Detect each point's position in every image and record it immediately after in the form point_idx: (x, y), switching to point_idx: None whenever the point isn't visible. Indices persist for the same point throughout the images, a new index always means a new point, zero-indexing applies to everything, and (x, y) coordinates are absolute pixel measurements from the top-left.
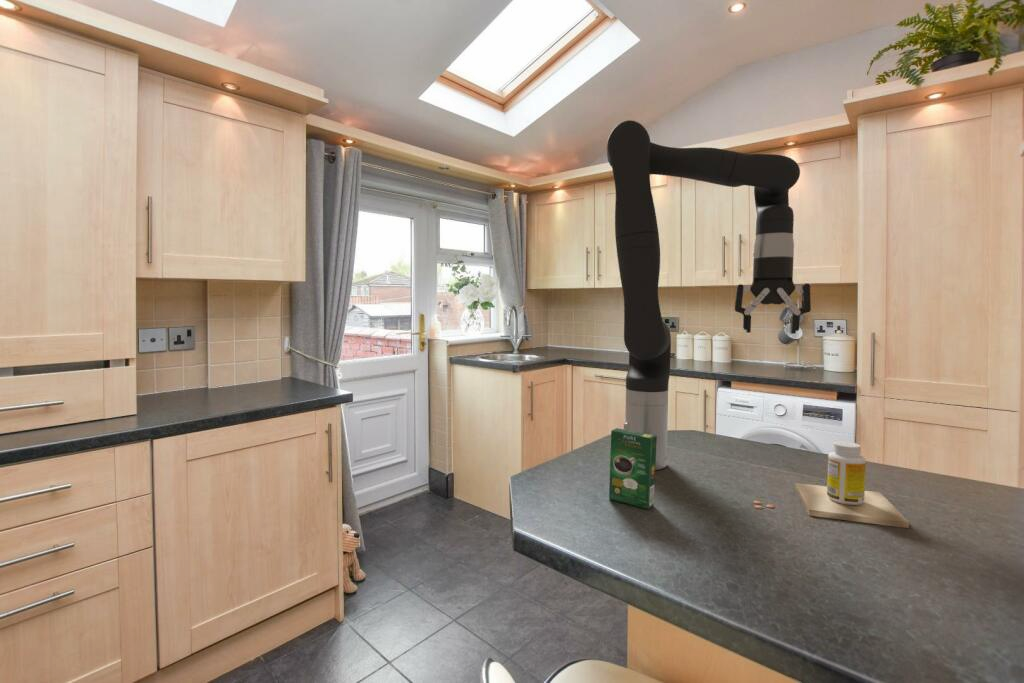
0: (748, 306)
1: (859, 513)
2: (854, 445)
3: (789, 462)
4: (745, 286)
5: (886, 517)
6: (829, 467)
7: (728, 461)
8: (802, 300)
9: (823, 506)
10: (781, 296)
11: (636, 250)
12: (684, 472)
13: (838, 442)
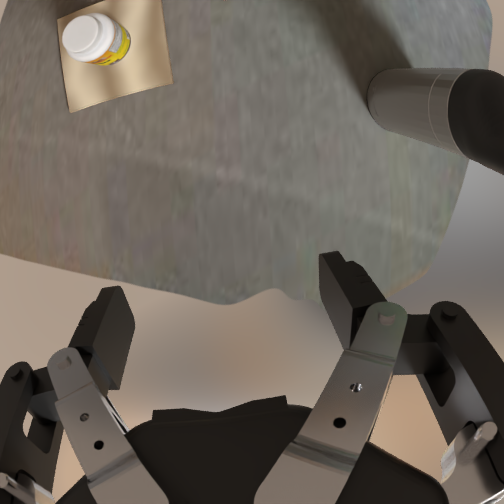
0: (399, 347)
1: (101, 9)
2: (70, 31)
3: (186, 219)
4: (486, 489)
5: (75, 17)
6: (117, 27)
7: (278, 174)
8: (39, 450)
9: (139, 5)
10: (130, 455)
11: None
12: (338, 81)
13: (90, 35)
